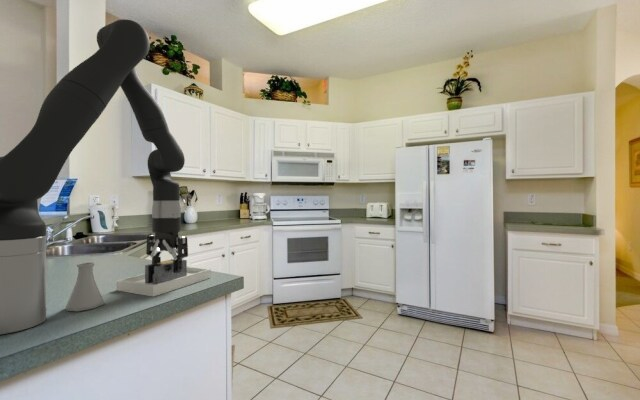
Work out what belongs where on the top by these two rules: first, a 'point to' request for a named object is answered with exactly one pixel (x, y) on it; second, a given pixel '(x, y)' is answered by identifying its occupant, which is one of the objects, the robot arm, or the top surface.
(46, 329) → the top surface
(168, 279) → the block
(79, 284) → the flask
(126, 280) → the tray
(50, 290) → the top surface
